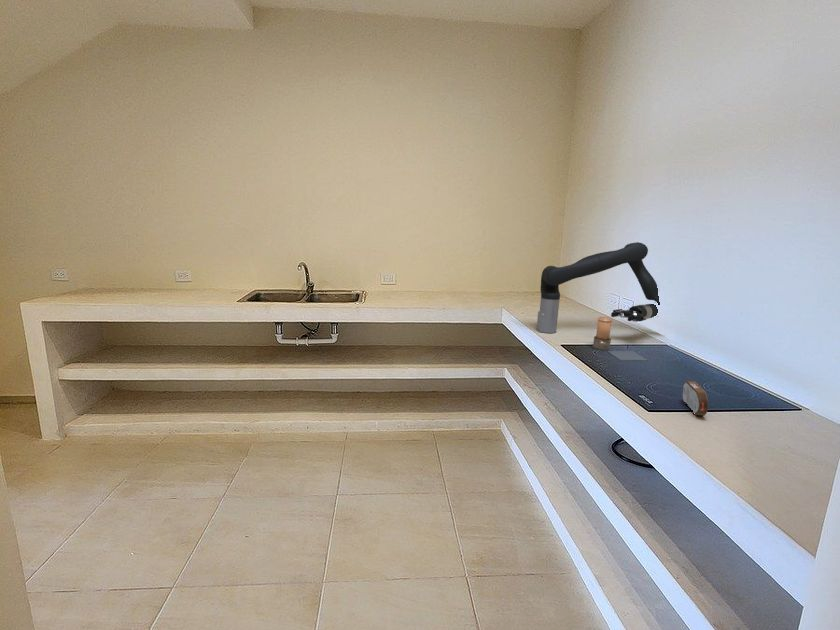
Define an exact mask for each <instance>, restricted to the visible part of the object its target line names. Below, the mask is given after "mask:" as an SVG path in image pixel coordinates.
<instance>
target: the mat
mask: <svg viewBox="0 0 840 630" xmlns="http://www.w3.org/2000/svg"><path fill="white" fill-rule="evenodd" d="M607 353H609V354H610V355H611V356H612V357H614V358H616V359H617V360H618V361H619V362H623V361H624V362H625V361H626V362H627V361H629V362H648V359H647V358H645V357H644V356H642V355H640V354H639V353H637V352H635V351H633V350H630V351H628V350H627V351H626V350H607Z"/></svg>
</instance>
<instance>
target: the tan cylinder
mask: <svg viewBox="0 0 840 630" xmlns="http://www.w3.org/2000/svg"><path fill="white" fill-rule="evenodd" d="M612 323H613V320H612V317H611V318H610V317H605V316H599V317H598V318H597V326H596V332H595V333H596V335H595V336H596V339H600V340H609V338H610V334H611V329H612V328H611V326H612Z"/></svg>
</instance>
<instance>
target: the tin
mask: <svg viewBox="0 0 840 630" xmlns="http://www.w3.org/2000/svg"><path fill="white" fill-rule="evenodd" d="M682 385H683V386H682V394H681V397H682V401H683V403H684V402H686V403H687V404H688V406H689V407H690V408H691V409H692V410H693V412H694V413H695V416H702V415H703V416H702V417H704V416H705V415H707V412H708V409H709V400H708V395H707V392H706V391H705V390H704V389H703V388H702V386H700V385H699V383H697V382H696V381H695V380H693V381H690V380H687V381H684V383H683V384H682Z"/></svg>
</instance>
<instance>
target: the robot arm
mask: <svg viewBox="0 0 840 630" xmlns="http://www.w3.org/2000/svg"><path fill="white" fill-rule="evenodd" d="M648 252H649V249H648V246H647V245H646V244H644V243H642V242H639V241H638V242H637V241H636V242H630V243H627V244H626V245H624V247H623V248H620V249H615V250H611V251H604V252H598V253H595V254H592V255H588V256H585V257H582V258H581V259H579V260H578V261H576V262H574V263H572V264H568V265H564V266H561V267H560V266H559V267H557V266H555V265H548V266H546V267H544V269H543V270H542V271H541V272H542V273H541V277H540V278H541V279H540V303H539V311H537V318H536V319H537V321H536V331H538V332H539V333H544V334H555V333H557V327H558V319H559V309H560V302H561V301H560V300H561V293H560V290H559V289H560V288H559V286H560V285H563V284H564V283H567V282H570V281H571V280H575V279H578V278H583V277H587V276H590V275H594V274H597V273H598V274H599V273H602V272H604V271H607V270H610V269H612V268H616V267H617V266H620V265H624V264H628V265H629V267H630V269H631V271H632V272H633V274H634V275H635V277H636V279H637V281H638V283H639V285H640V287H641V291H642V293H643V294H644V297H645V300H648V301H655V303H656V302H657V303H658V305H660V302H659V296H658V288H659V287H658V288H657V286H658V284H657V282H656V280H655V279H654V277H653V276H652V275H651V273H650V271H648V269H647V268H646V266H645V264H644V261H643V260H644V259H645V258H646V257H647V256H648ZM657 313H658V309H657V307H656V305H654V304H651V303H646V304H638V305H632V306H631V307H629V308H628V309H622V308H618V309H613V310H612V312H611V314H610V317H611V318H616V317H620V318H625V319H627V321H628V322H631V321H632V322H636V323H637V322H643V321H646V320H648V319H652V318H655V317H654V316H656V315H657Z"/></svg>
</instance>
